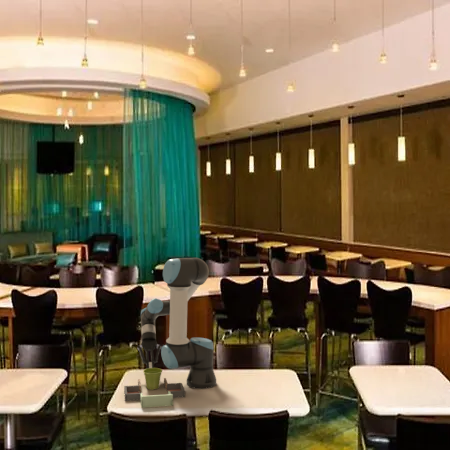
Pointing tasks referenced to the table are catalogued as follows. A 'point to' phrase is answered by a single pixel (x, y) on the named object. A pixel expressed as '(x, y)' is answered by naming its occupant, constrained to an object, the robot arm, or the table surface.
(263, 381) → the table surface
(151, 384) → the plant pot
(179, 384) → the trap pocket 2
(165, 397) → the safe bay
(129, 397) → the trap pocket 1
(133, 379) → the table surface
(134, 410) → the table surface
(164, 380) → the chute
